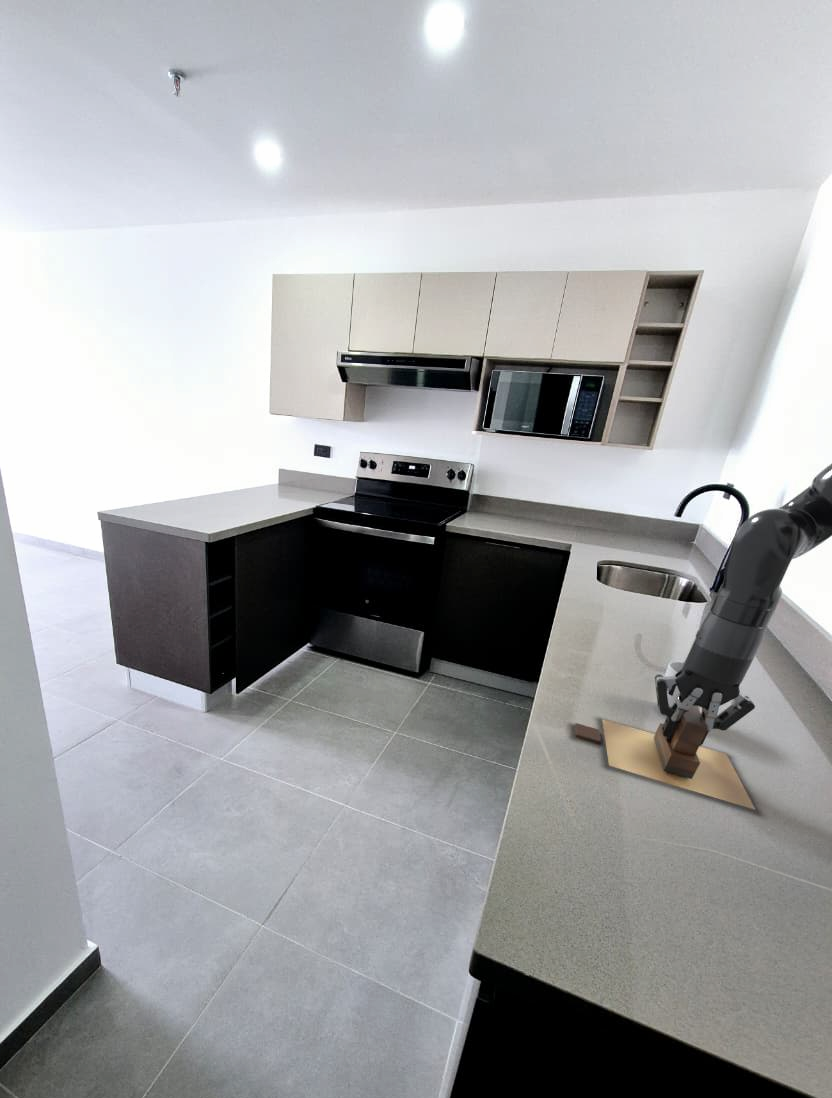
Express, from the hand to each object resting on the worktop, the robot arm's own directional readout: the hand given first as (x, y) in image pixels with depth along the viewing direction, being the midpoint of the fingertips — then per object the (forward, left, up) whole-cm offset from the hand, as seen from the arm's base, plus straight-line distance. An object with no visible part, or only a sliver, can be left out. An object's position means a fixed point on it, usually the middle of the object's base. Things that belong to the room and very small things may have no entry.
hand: (679, 741), depth 81 cm
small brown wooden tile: (+13, 0, -5) cm, 14 cm away
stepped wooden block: (0, 0, -3) cm, 3 cm away
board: (0, 0, -5) cm, 5 cm away
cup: (-4, -19, -5) cm, 20 cm away
